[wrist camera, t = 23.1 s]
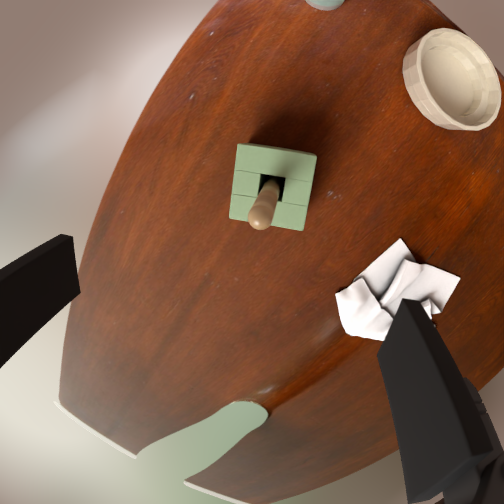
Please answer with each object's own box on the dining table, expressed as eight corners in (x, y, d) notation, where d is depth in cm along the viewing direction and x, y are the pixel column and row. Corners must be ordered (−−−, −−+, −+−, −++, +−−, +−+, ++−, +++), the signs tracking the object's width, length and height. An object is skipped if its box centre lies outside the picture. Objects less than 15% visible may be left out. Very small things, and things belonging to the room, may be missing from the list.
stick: (268, 172, 38) (247, 206, 22) (283, 174, 38) (273, 211, 22) (266, 186, 39) (244, 231, 23) (281, 188, 39) (269, 235, 23)
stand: (247, 142, 37) (237, 143, 31) (313, 153, 36) (317, 156, 30) (239, 205, 40) (228, 218, 34) (301, 215, 40) (303, 231, 33)
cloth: (316, 294, 44) (317, 302, 42) (431, 214, 37) (438, 218, 34) (373, 367, 48) (375, 375, 46) (469, 304, 41) (475, 311, 38)
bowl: (403, 26, 27) (417, 12, 21) (480, 61, 25) (500, 55, 20) (396, 111, 32) (412, 108, 27) (474, 142, 31) (496, 145, 26)
